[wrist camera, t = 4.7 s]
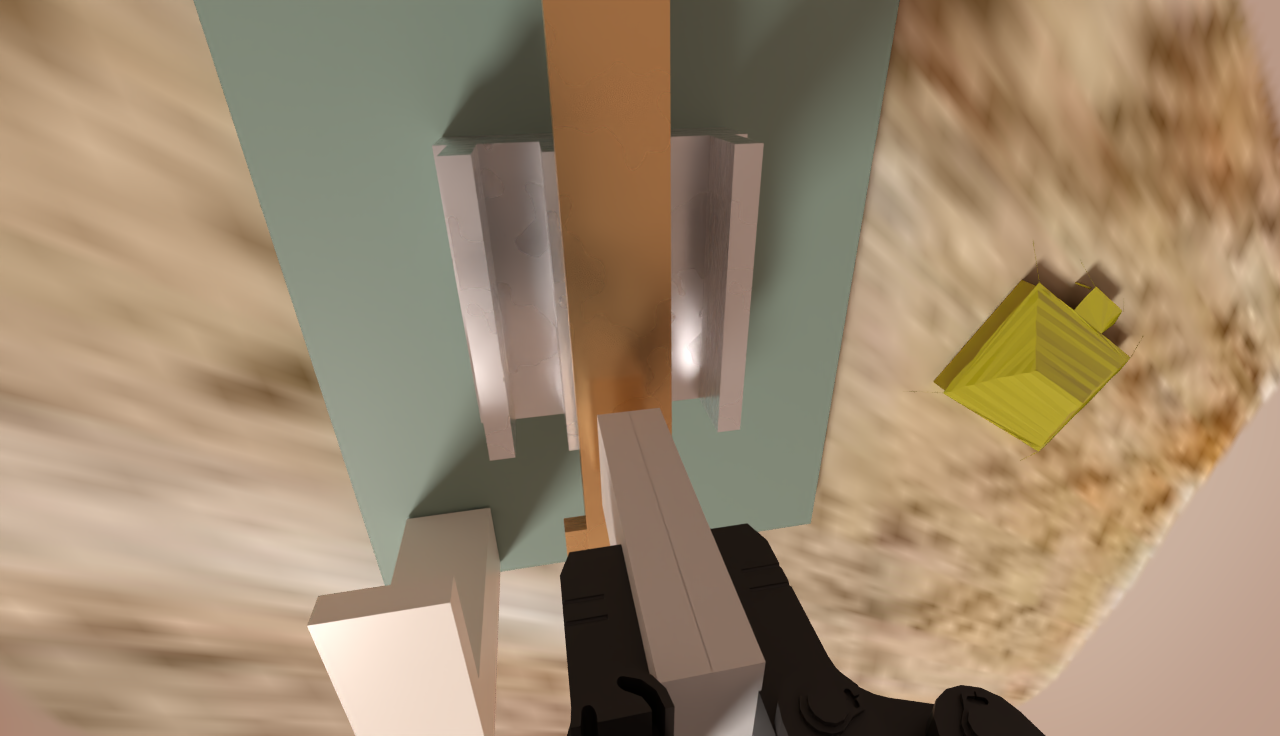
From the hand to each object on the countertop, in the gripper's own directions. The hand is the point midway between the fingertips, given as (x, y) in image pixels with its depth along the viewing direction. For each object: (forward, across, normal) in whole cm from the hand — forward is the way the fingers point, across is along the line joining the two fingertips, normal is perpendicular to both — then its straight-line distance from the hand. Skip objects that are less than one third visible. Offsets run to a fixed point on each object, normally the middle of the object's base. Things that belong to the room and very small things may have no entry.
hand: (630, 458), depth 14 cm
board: (+8, 0, +3) cm, 8 cm away
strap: (+2, 0, +3) cm, 4 cm away
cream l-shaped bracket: (+6, -6, -6) cm, 10 cm away
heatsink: (+6, 0, +3) cm, 7 cm away
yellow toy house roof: (+8, +19, -3) cm, 21 cm away
